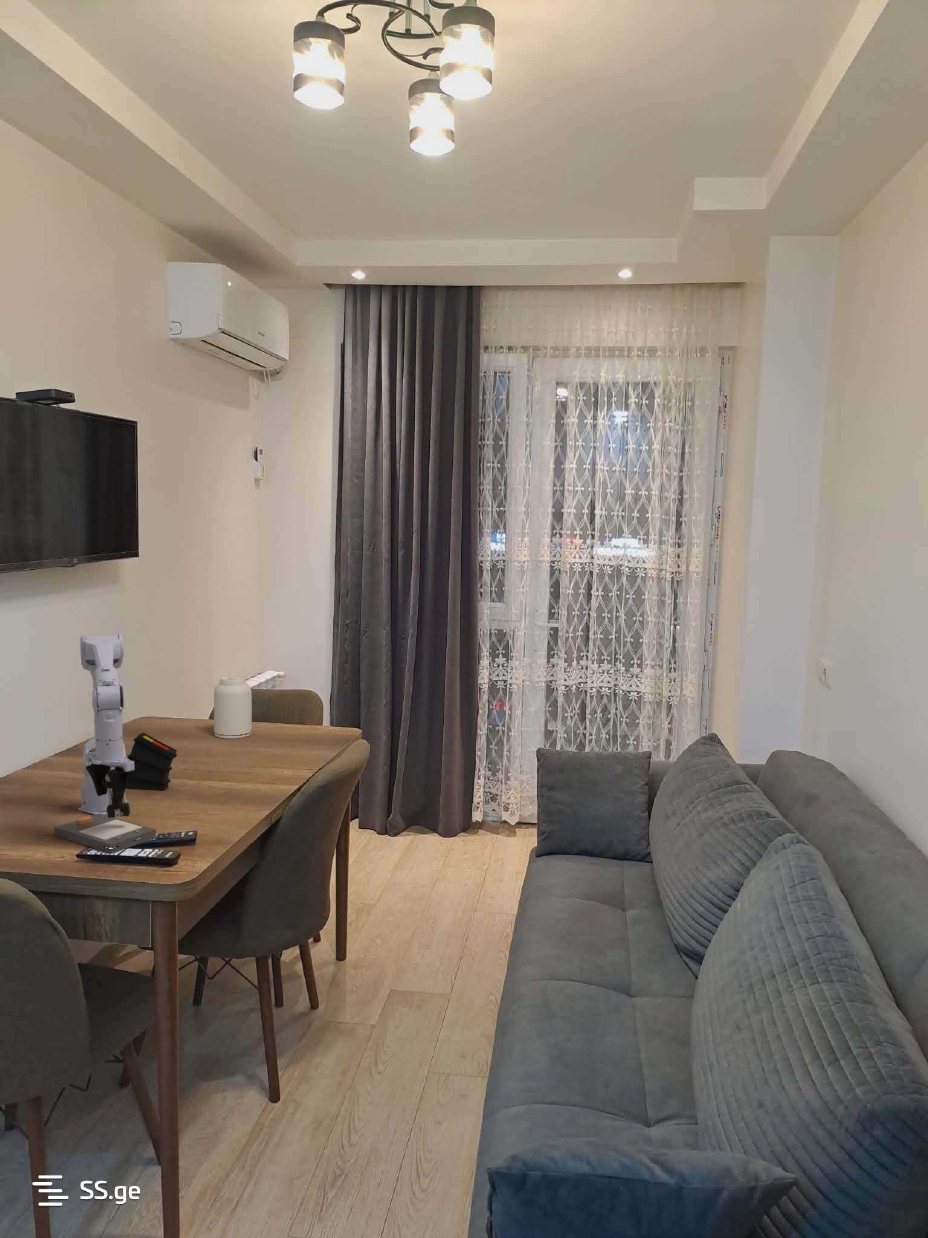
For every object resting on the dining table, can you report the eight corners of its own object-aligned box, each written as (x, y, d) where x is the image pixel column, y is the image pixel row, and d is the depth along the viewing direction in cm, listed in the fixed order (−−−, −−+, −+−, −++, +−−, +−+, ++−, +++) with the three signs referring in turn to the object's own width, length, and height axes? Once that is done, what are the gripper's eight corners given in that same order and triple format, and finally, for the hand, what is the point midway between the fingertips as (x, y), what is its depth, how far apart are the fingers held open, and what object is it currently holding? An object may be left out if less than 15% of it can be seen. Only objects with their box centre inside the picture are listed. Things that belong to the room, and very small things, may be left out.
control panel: (54, 835, 203) (54, 823, 203) (100, 821, 213) (99, 810, 213) (111, 853, 193) (110, 841, 193) (155, 838, 203) (155, 826, 203)
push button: (98, 822, 200) (92, 780, 198) (103, 813, 205) (97, 772, 204) (129, 818, 201) (123, 776, 199) (133, 809, 206) (127, 768, 205)
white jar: (215, 731, 309) (215, 674, 307) (252, 730, 311) (252, 674, 309) (212, 739, 297) (212, 680, 295) (250, 739, 299) (250, 680, 297)
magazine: (120, 778, 244) (142, 731, 242) (162, 801, 243) (184, 754, 241) (114, 782, 240) (136, 734, 238) (156, 805, 239) (178, 757, 237)
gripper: (73, 737, 200) (74, 795, 202) (114, 746, 193) (115, 807, 194) (100, 731, 206) (101, 788, 208) (141, 740, 199) (142, 799, 200)
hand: (110, 797), depth 201 cm, fingers closed on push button, 5 cm apart
